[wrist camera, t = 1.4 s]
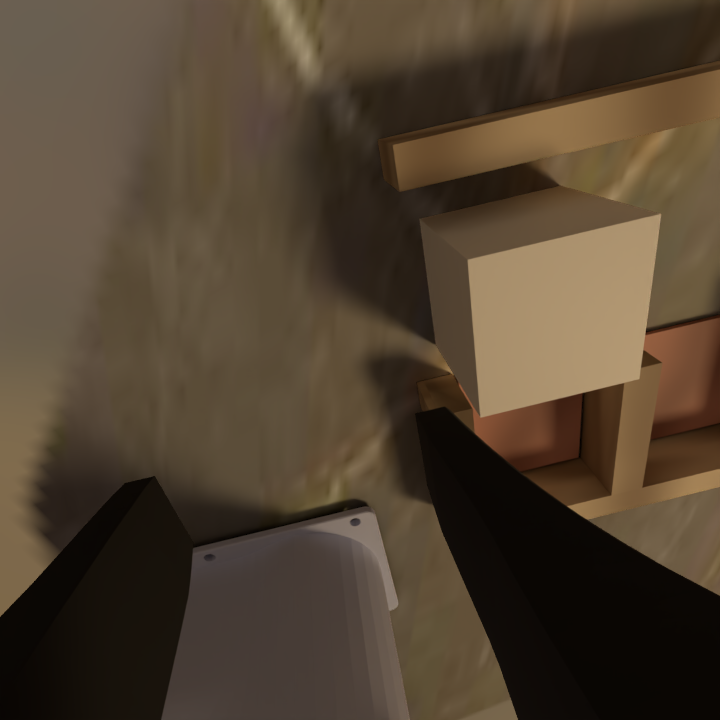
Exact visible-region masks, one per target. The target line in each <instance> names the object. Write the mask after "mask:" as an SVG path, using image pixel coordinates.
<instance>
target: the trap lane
mask: <svg viewBox="0 0 720 720" xmlns="http://www.w3.org/2000/svg"><path fill="white" fill-rule="evenodd" d="M719 117H720V61H716V62H711V63H707V64H703V65H698V66H694V67H690V68H685V69H681V70H677V71H672V72H668V73H664V74H659V75H655V76H651V77H646V78H642V79H638V80H633V81H629V82H625V83H620V84H616V85H612V86H607V87H603V88H599V89H594V90H590V91H586V92H581V93H577V94H573V95H568V96H564V97H560V98H555V99H551V100H547V101H542V102H538V103H534V104H529V105H525V106H521V107H516V108H512V109H508V110H503V111H499V112H495V113H490V114H486V115H482V116H477V117H473V118H469V119H464V120H460V121H456V122H451V123H447V124H443V125H438V126H434V127H430V128H425V129H421V130H417V131H412V132H408V133H404V134H399V135H395V136H391V137H386V138H382V139H378V146H379V152H380V159H381V165H382V171H383V177H384V180H385V181H386V182H387V183H389V184H390V185H391V186H393V187H394V188H395V189H396V190H398V191H399V192H401V191H406V190H410V189H414V188H419V187H423V186H427V185H431V184H436V183H440V182H444V181H449V180H453V179H457V178H461V177H466V176H470V175H474V174H479V173H483V172H487V171H492V170H496V169H500V168H504V167H509V166H513V165H517V164H522V163H526V162H530V161H534V160H539V159H543V158H547V157H552V156H556V155H560V154H565V153H569V152H573V151H577V150H582V149H586V148H590V147H595V146H599V145H603V144H607V143H612V142H616V141H620V140H625V139H629V138H633V137H638V136H642V135H646V134H650V133H655V132H659V131H663V130H668V129H672V128H676V127H680V126H685V125H689V124H693V123H698V122H702V121H706V120H711V119H715V118H719ZM457 382H458V380H457ZM457 382H456V380H455V378H454V377H453V375H452V374H449V375H445V376H441V377H437V378H432V379H428V380H424V381H420V382H417V389H418V395H419V401H420V406H421V409H422V411H428V410H432V409H436V408H440V407H444V406H445V407H447V408H448V409H450V410H451V411H452V412H453V413H454V414H455V415H456V416H457V417H458V418H459V419H460V420H461V421H462V422H463V423H464V424H465V425H466V426H467V427H468V428H470V429H471V430H472V431H473V432H474V433H475V434H476V435H477V436H478V437H479V438H481V439H482V440H483V441H484V442H485V443H486V444H487V445H488V446H490V447H491V448H492V449H493V450H494V451H496V452H497V453H498V454H499V455H500V456H502V457H503V458H504V459H505V460H506V461H508V462H509V463H510V464H511V465H513V466H514V467H515V468H516V469H518V470H519V471H522V472H521V473H523V474H524V475H525V476H526V477H528V478H529V479H530V480H532V481H533V482H534V483H536V484H537V485H538V486H540V487H541V488H542V489H544V490H545V491H546V492H548V493H549V494H551V495H552V496H553V497H555V498H556V499H558V500H559V501H560V502H562V503H563V504H565V505H566V506H567V507H569V508H570V509H572V510H573V511H575V512H576V513H578V514H579V515H581V516H582V517H584V518H585V519H591V518H595V517H599V516H603V515H607V514H611V513H615V512H619V511H623V510H627V509H632V508H636V507H640V506H644V505H648V504H652V503H656V502H660V501H664V500H668V499H672V498H676V497H680V496H684V495H688V494H693V493H697V492H701V491H705V490H709V489H713V488H717V487H720V315H717V316H712V317H708V318H704V319H700V320H696V321H692V322H687V323H683V324H679V325H675V326H671V327H667V328H662V329H658V330H654V331H650V332H646V333H645V340H644V348H643V355H642V363H641V370H640V378H639V379H638V380H634V381H629V382H625V383H621V384H617V385H613V386H609V387H605V388H601V389H597V390H592V391H588V392H584V403H583V419H582V435H581V451H580V458H578V457H579V442H580V426H581V409H582V393H580V394H576V395H572V396H568V397H564V398H560V399H555V400H551V401H547V402H543V403H539V404H535V405H531V406H527V407H523V408H518V409H514V410H510V411H506V412H502V413H498V414H494V415H490V416H486V417H481V418H480V416H479V415H478V413H477V411H476V410H475V408H474V407H473V405H472V403H471V402H470V400H469V398H468V397H467V395H466V393H465V392H464V390H463V389H462V387H461V385H460V384H459V382H458V383H457ZM717 423H719V424H717ZM713 424H715V425H713ZM709 425H711V426H709ZM705 426H707V427H705ZM701 427H703V428H701ZM697 428H699V429H697ZM693 429H694V430H693ZM688 430H690V431H688ZM684 431H686V432H684ZM680 432H682V433H680ZM676 433H678V434H676ZM672 434H674V435H672ZM668 435H670V436H668ZM664 436H666V437H664ZM660 437H662V438H660ZM656 438H658V439H656ZM652 439H653V440H652ZM574 458H575V459H574ZM569 459H571V460H569ZM565 460H567V461H565ZM561 461H563V462H561ZM557 462H559V463H557ZM553 463H555V464H553ZM549 464H551V465H549ZM545 465H547V466H545ZM541 466H543V467H541ZM537 467H538V468H537ZM532 468H534V469H532ZM528 469H530V470H528ZM524 470H526V471H524Z"/></svg>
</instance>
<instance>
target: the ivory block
mask: <svg viewBox="0 0 720 720" xmlns="http://www.w3.org/2000/svg"><path fill="white" fill-rule="evenodd" d="M660 219H661V214H660V213H657V212H653V211H649V210H646V209H642V208H639V207H635V206H632V205H628V204H624V203H621V202H617V201H614V200H610V199H606V198H603V197H599V196H596V195H592V194H588V193H585V192H581V191H578V190H574V189H571V188H567V187H563V186H557V187H553V188H548V189H544V190H540V191H536V192H531V193H527V194H523V195H518V196H514V197H510V198H506V199H501V200H497V201H493V202H489V203H484V204H480V205H476V206H472V207H467V208H463V209H459V210H455V211H450V212H446V213H442V214H438V215H433V216H429V217H425V218H420V219H419V220H420V228H421V235H422V243H423V251H424V258H425V266H426V274H427V282H428V289H429V297H430V305H431V312H432V320H433V328H434V336H435V343H436V346H437V348H438V349H439V351H440V353H441V354H442V356H443V358H444V359H445V361H446V362H447V364H448V366H449V367H450V369H451V371H452V372H453V374H454V376H455V377H456V379H457V380H458V382H459V384H460V385H461V387H462V389H463V390H464V392H465V393H466V395H467V397H468V398H469V400H470V402H471V403H472V405H473V407H474V408H475V410H476V411H477V413H478V415H479V416H480V418H481V417H486V416H490V415H494V414H498V413H502V412H506V411H510V410H514V409H518V408H523V407H527V406H531V405H535V404H539V403H543V402H547V401H551V400H555V399H560V398H564V397H568V396H572V395H576V394H580V393H584V392H588V391H592V390H597V389H601V388H605V387H609V386H613V385H617V384H621V383H625V382H629V381H634V380H638V379H639V378H640V370H641V363H642V355H643V348H644V340H645V333H646V325H647V317H648V310H649V302H650V295H651V287H652V280H653V272H654V265H655V257H656V250H657V242H658V235H659V227H660Z"/></svg>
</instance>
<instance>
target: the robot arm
mask: <svg viewBox="0 0 720 720" xmlns="http://www.w3.org/2000/svg"><path fill="white" fill-rule="evenodd" d="M415 415H416V421H417V427H418V433H419V439H420V444H421V450H422V456H423V462H424V468H425V474H426V480H427V486H428V489H429V492H430V495H431V499H432V502H433V505H434V508H435V511H436V514H437V517H438V521H439V524H440V527H441V530H442V533H443V535H444V537H445V540H446V542H447V544H448V546H449V549H450V551H451V553H452V556H453V558H454V560H455V563H456V565H457V567H458V569H459V572H460V574H461V576H462V579H463V581H464V583H465V585H466V588H467V590H468V592H469V595H470V597H471V599H472V601H473V604H474V606H475V608H476V611H477V613H478V615H479V617H480V620H481V622H482V624H483V627H484V629H485V631H486V633H487V636H488V638H489V640H490V643H491V645H492V648H493V650H494V653H495V655H496V658H497V661H498V663H499V666H500V668H501V671H502V674H503V677H504V680H505V683H506V686H507V689H508V692H509V694H510V697H511V700H512V703H513V706H514V709H515V712H516V715H517V718H518V720H720V596H719V595H717V594H715V593H713V592H712V591H710V590H708V589H706V588H704V587H702V586H700V585H698V584H696V583H694V582H692V581H691V580H689V579H687V578H685V577H683V576H681V575H679V574H677V573H675V572H673V571H672V570H670V569H668V568H666V567H664V566H662V565H661V564H659V563H657V562H656V561H654V560H652V559H650V558H649V557H647V556H645V555H644V554H642V553H640V552H638V551H637V550H635V549H633V548H632V547H630V546H628V545H626V544H625V543H623V542H621V541H620V540H618V539H617V538H615V537H613V536H612V535H610V534H609V533H607V532H605V531H604V530H602V529H601V528H599V527H597V526H596V525H594V524H593V523H591V522H590V521H588V520H587V519H585V518H584V517H582V516H581V515H579V514H578V513H576V512H575V511H573V510H572V509H570V508H569V507H567V506H566V505H565V504H563V503H562V502H560V501H559V500H558V499H556V498H555V497H553V496H552V495H551V494H549V493H548V492H546V491H545V490H544V489H542V488H541V487H540V486H538V485H537V484H536V483H534V482H533V481H532V480H530V479H529V478H528V477H526V476H525V475H524V474H523V473H521V472H520V471H519V470H518V469H516V468H515V467H514V466H513V465H511V464H510V463H509V462H508V461H506V460H505V459H504V458H503V457H502V456H500V455H499V454H498V453H497V452H496V451H494V450H493V449H492V448H491V447H490V446H488V445H487V444H486V443H485V442H484V441H483V440H482V439H481V438H479V437H478V436H477V435H476V434H475V433H474V432H473V431H472V430H471V429H470V428H468V427H467V426H466V425H465V424H464V423H463V422H462V421H461V420H460V419H459V418H458V417H457V416H456V415H455V414H454V413H453V412H452V411H451V410H450V409H448V408H447V407H445V406H444V407H440V408H436V409H432V410H428V411H423V412H419V413H415ZM354 518H358V519H355V520H352V519H354ZM397 606H398V599H397V595H396V591H395V587H394V583H393V580H392V576H391V572H390V568H389V564H388V560H387V557H386V553H385V549H384V545H383V541H382V537H381V534H380V530H379V526H378V522H377V518H376V515H375V511H374V509H372V508H371V507H367V506H366V507H360V508H356V509H351V510H347V511H343V512H339V513H335V514H331V515H327V516H323V517H319V518H315V519H310V520H306V521H302V522H298V523H294V524H290V525H286V526H282V527H278V528H273V529H269V530H265V531H261V532H257V533H253V534H249V535H245V536H241V537H236V538H232V539H228V540H224V541H220V542H216V543H212V544H208V545H204V546H199V547H195V548H193V541H192V539H191V538H190V536H189V534H188V533H187V531H186V529H185V527H184V526H183V524H182V522H181V521H180V519H179V517H178V515H177V514H176V512H175V510H174V509H173V507H172V505H171V503H170V502H169V500H168V498H167V496H166V495H165V493H164V491H163V490H162V488H161V486H160V484H159V483H158V481H157V479H156V478H155V476H153V477H149V478H145V479H141V480H137V481H133V482H128V483H125V484H124V485H123V486H122V487H121V488H120V489H119V490H118V491H117V492H116V493H115V494H114V495H113V496H112V497H111V498H110V499H109V500H108V501H107V502H106V503H105V504H104V505H103V506H102V507H101V509H100V510H99V511H98V512H97V513H96V514H95V515H94V516H93V517H92V518H91V520H90V521H89V522H88V523H87V524H86V525H85V526H84V527H83V528H82V530H81V531H80V532H79V533H78V534H77V535H76V536H75V537H74V538H73V540H72V541H71V542H70V543H69V544H68V545H67V546H66V547H65V548H64V549H63V551H62V552H61V553H60V554H59V555H58V556H57V557H56V558H55V559H54V560H53V562H52V563H51V564H50V565H49V566H48V567H47V568H46V569H45V570H44V571H43V573H42V574H41V575H40V576H39V577H38V578H37V579H36V580H35V581H34V583H32V585H31V586H30V587H29V588H28V589H27V590H26V591H25V592H24V593H23V594H22V595H21V596H20V597H19V598H18V599H17V600H16V601H15V602H14V603H13V604H12V605H11V606H10V607H9V609H7V610H6V611H5V613H4V614H3V615H2V616H1V617H0V720H410V718H409V713H408V707H407V702H406V697H405V692H404V686H403V681H402V676H401V671H400V665H399V660H398V655H397V650H396V645H395V639H394V634H393V629H392V624H391V618H390V613H389V611H391V610H393V609H395V608H396V607H397Z"/></svg>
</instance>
